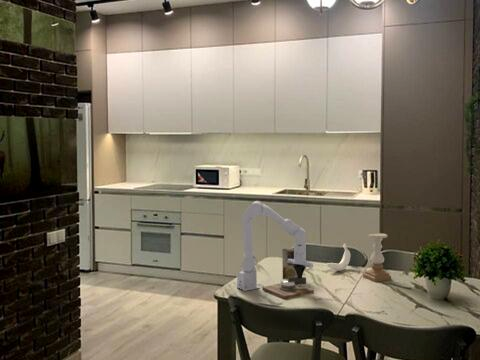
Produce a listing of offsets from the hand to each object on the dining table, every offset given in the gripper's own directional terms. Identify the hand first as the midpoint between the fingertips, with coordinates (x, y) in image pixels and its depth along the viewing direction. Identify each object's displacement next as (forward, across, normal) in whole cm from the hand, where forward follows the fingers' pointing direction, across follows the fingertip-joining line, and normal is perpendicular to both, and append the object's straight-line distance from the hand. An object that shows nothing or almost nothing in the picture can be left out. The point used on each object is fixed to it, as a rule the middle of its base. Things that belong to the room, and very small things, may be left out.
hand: (299, 279), depth 260 cm
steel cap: (+3, +1, +4) cm, 5 cm away
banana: (+6, +7, -45) cm, 46 cm away
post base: (+5, +2, +6) cm, 9 cm away
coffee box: (+6, +15, -12) cm, 20 cm away
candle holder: (+6, -17, -45) cm, 48 cm away
